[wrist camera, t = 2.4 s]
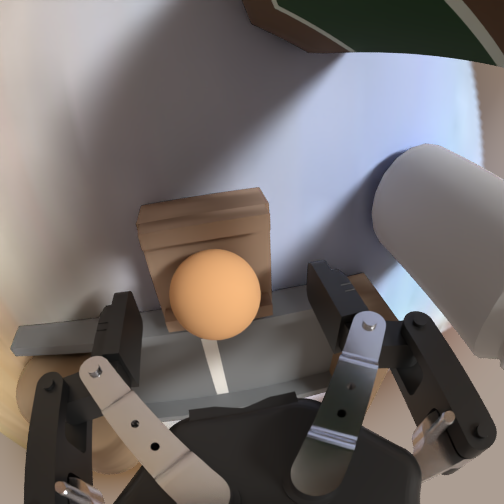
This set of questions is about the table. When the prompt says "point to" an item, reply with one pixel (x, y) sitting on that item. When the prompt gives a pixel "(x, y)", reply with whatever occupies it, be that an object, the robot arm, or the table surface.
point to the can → (448, 238)
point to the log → (103, 435)
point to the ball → (214, 294)
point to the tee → (206, 238)
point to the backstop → (374, 305)
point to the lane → (210, 357)
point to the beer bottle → (388, 26)
